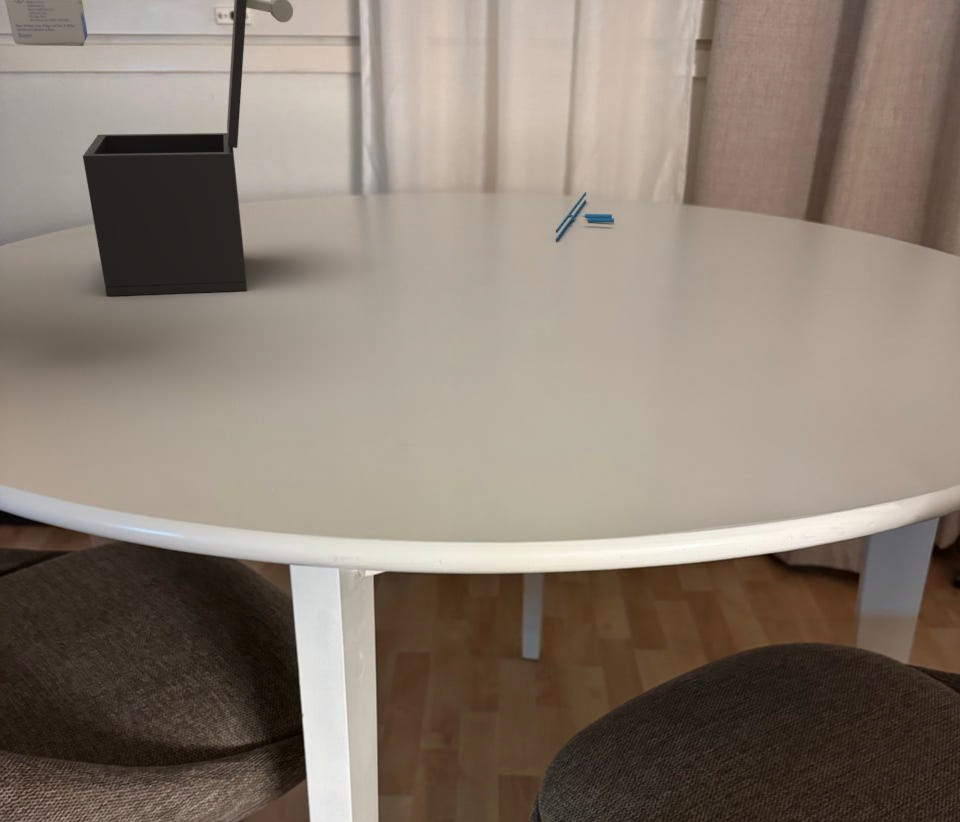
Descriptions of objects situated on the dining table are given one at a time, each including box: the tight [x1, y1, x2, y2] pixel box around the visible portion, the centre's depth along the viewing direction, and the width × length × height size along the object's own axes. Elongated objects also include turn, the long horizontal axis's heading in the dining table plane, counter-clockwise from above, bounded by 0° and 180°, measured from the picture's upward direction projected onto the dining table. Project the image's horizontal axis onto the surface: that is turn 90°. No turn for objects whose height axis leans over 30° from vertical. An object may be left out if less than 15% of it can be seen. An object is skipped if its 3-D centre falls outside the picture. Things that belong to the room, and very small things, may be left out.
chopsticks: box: [555, 191, 615, 243], centre depth 128 cm, size 1×25×5 cm
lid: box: [226, 0, 294, 149], centre depth 95 cm, size 14×14×5 cm
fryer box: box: [82, 132, 248, 297], centre depth 100 cm, size 13×14×12 cm
